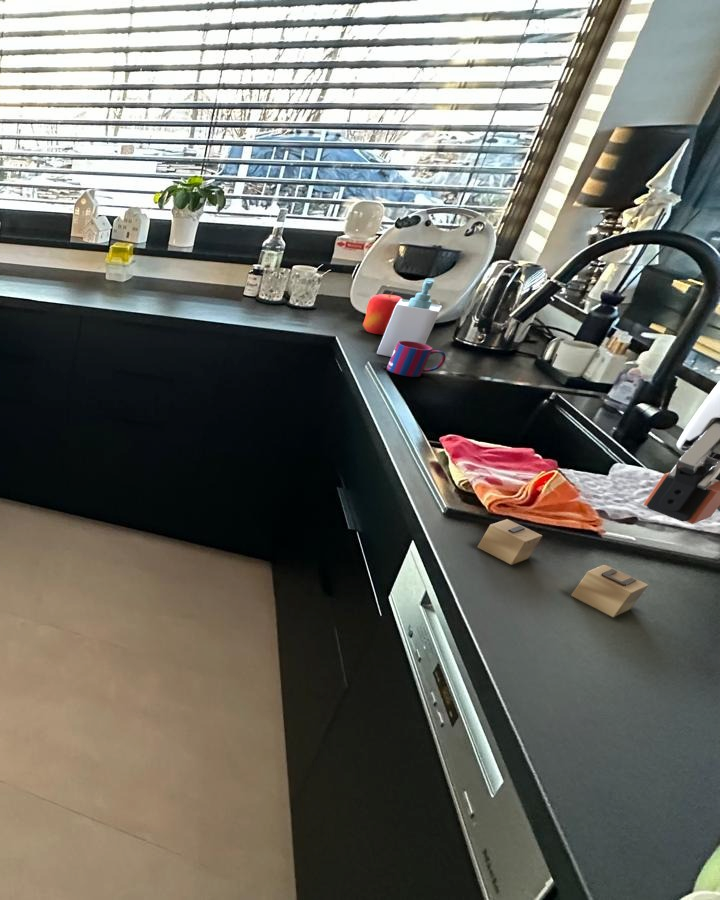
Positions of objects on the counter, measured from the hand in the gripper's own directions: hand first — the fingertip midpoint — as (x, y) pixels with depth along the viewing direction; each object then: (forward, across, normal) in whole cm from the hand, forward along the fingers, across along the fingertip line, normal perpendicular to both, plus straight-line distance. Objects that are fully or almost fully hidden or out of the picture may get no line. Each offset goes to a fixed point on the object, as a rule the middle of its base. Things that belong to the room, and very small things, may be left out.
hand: (678, 508), depth 68 cm
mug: (+14, +62, +62) cm, 89 cm away
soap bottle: (+14, +74, +72) cm, 105 cm away
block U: (+14, 0, +1) cm, 14 cm away
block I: (+14, 0, +11) cm, 18 cm away
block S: (0, 0, 0) cm, 0 cm away
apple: (+14, +89, +88) cm, 126 cm away
